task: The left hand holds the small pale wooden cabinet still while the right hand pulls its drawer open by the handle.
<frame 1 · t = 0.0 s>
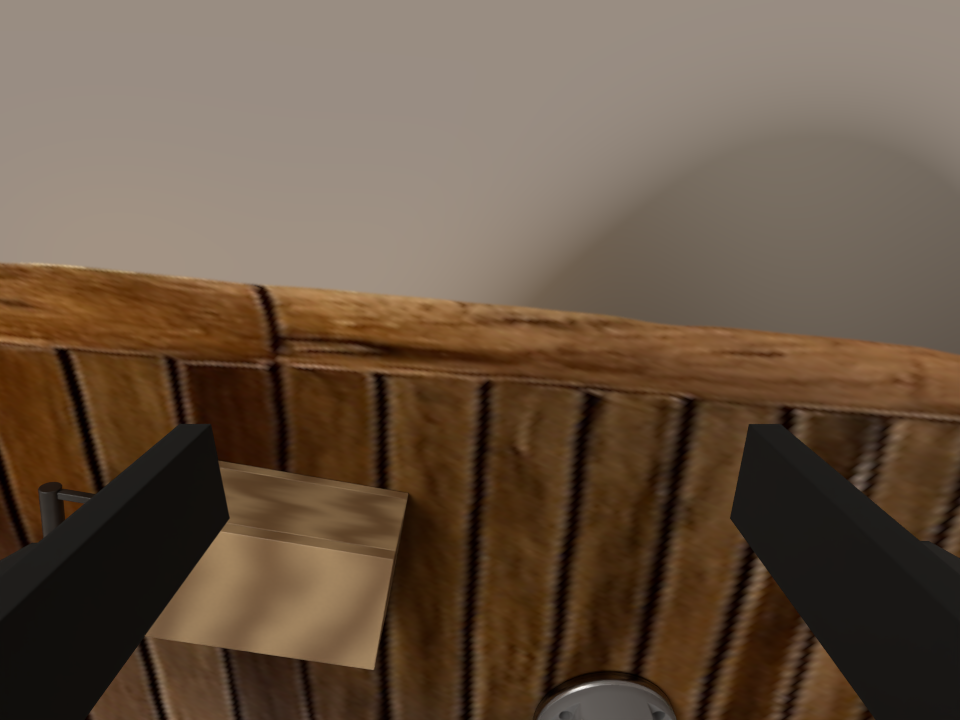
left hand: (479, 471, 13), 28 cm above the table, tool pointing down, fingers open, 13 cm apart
cabinet: (288, 525, 47), on the table
drawer: (203, 547, 43), point 4 cm above the table, slide at 0.9 cm
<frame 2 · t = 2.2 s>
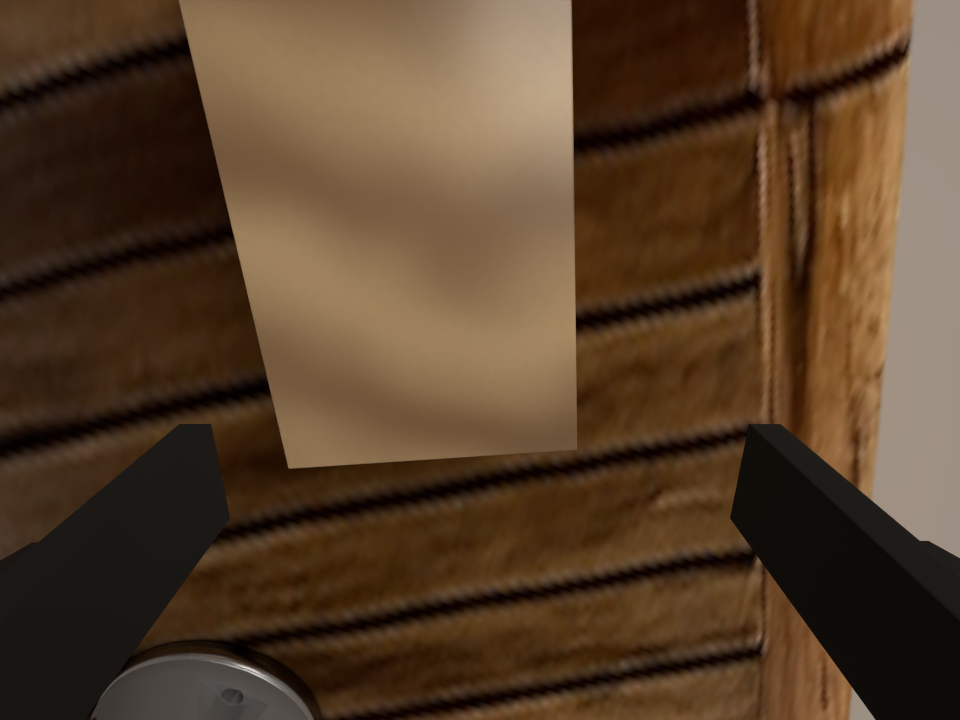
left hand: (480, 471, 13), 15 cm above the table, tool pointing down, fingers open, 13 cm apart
cabinet: (424, 180, 25), on the table
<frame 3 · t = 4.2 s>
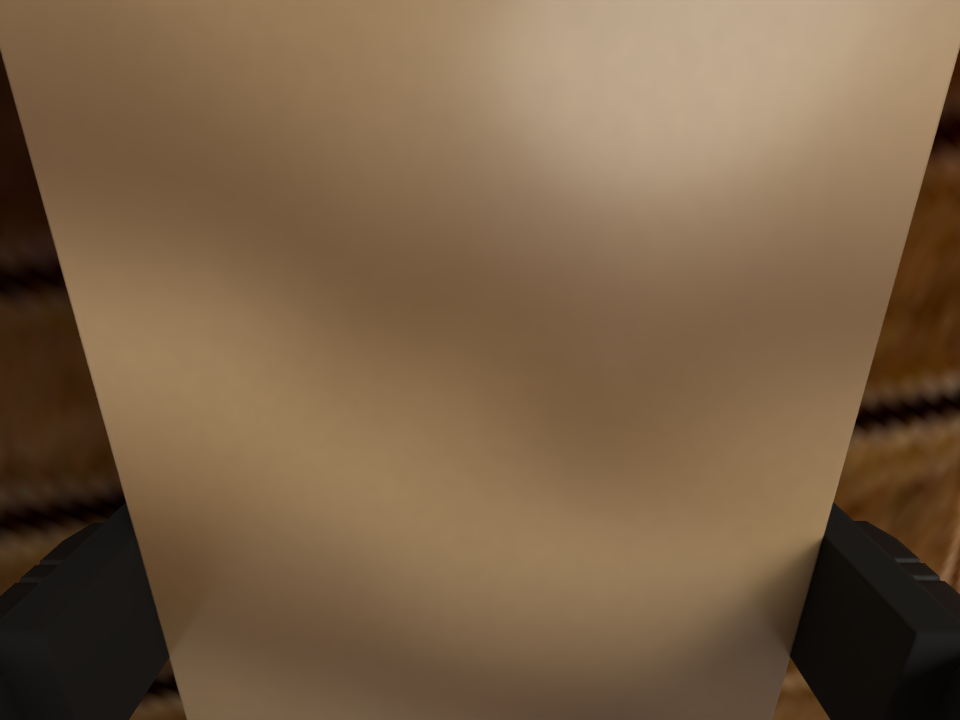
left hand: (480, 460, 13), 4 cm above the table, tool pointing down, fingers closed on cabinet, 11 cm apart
cabinet: (479, 202, 15), on the table, touching left hand
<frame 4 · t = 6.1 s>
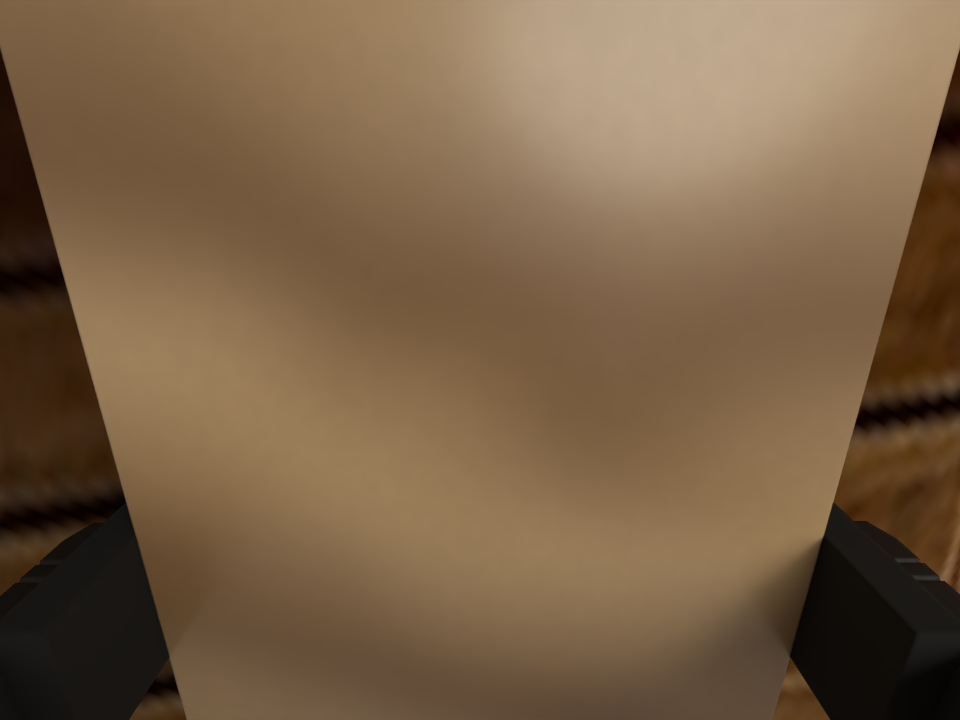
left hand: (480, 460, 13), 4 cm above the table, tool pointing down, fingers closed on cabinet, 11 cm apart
cabinet: (479, 202, 15), on the table, touching left hand
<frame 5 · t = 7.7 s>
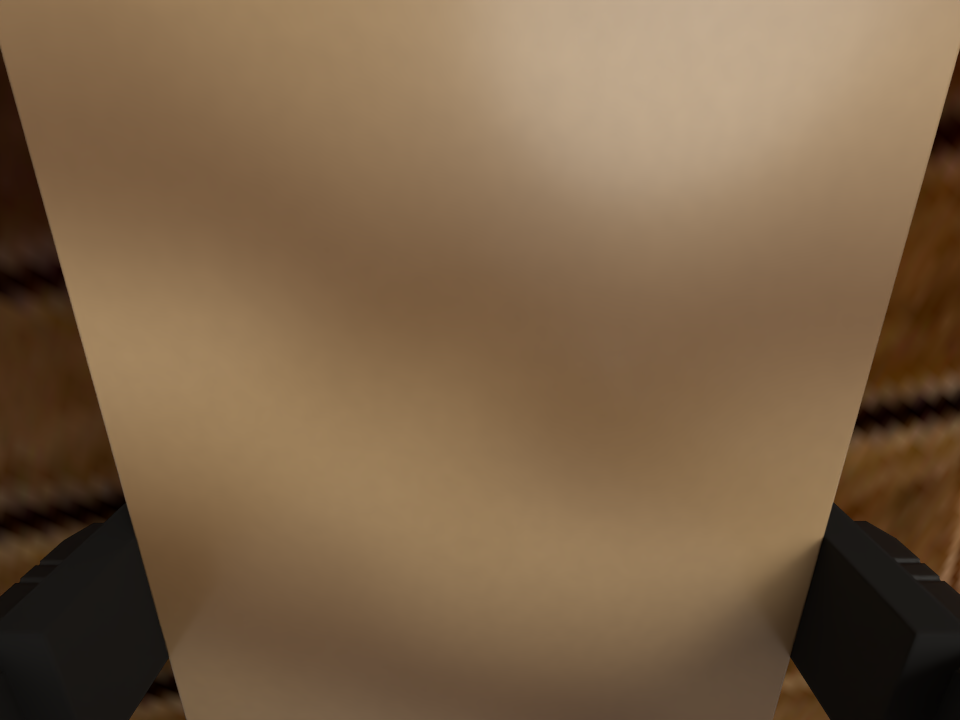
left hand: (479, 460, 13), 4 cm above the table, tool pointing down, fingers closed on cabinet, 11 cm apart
cabinet: (479, 202, 15), on the table, touching left hand
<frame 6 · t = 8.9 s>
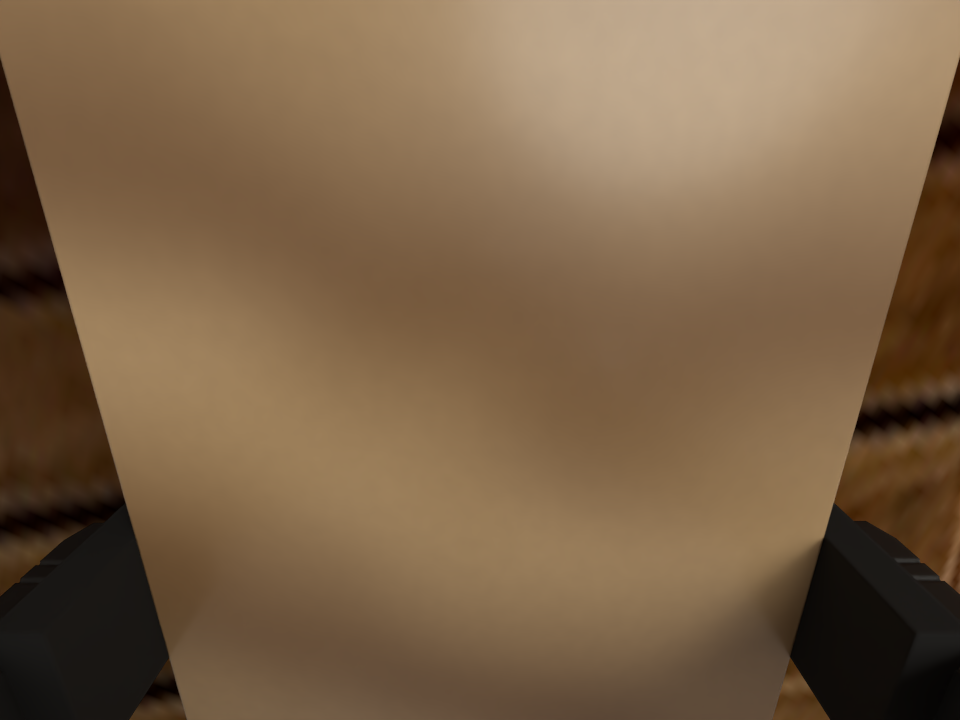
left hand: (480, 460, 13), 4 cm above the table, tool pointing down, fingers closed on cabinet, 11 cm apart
cabinet: (479, 201, 15), on the table, touching left hand
when the left hand's fingers open (4 cm above the table, at t = 9.5 s): cabinet stays where it is, on the table.
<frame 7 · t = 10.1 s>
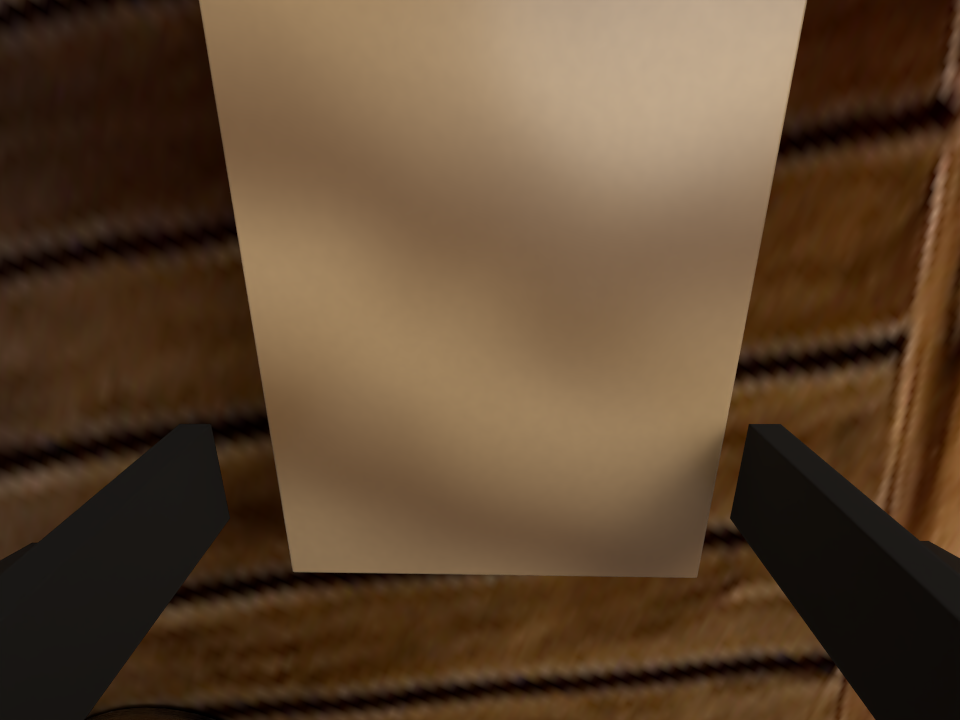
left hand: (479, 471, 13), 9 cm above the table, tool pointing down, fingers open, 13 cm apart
cabinet: (494, 181, 19), on the table
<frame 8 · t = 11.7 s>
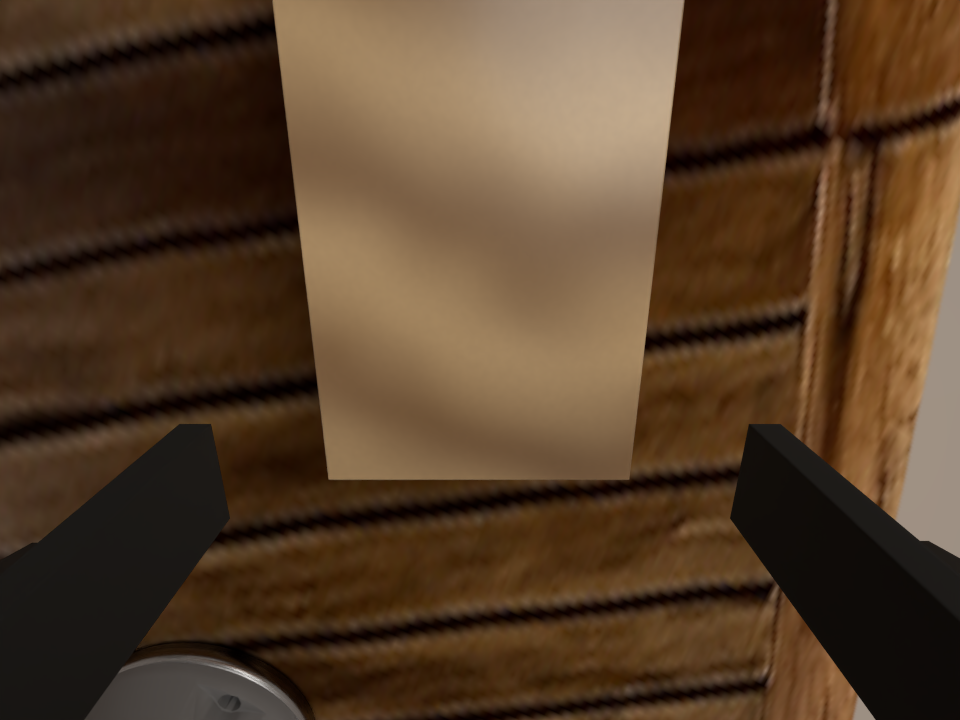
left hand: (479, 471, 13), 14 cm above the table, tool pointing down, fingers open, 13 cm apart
cabinet: (479, 188, 24), on the table
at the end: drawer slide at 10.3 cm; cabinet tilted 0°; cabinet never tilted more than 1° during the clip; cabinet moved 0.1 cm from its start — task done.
